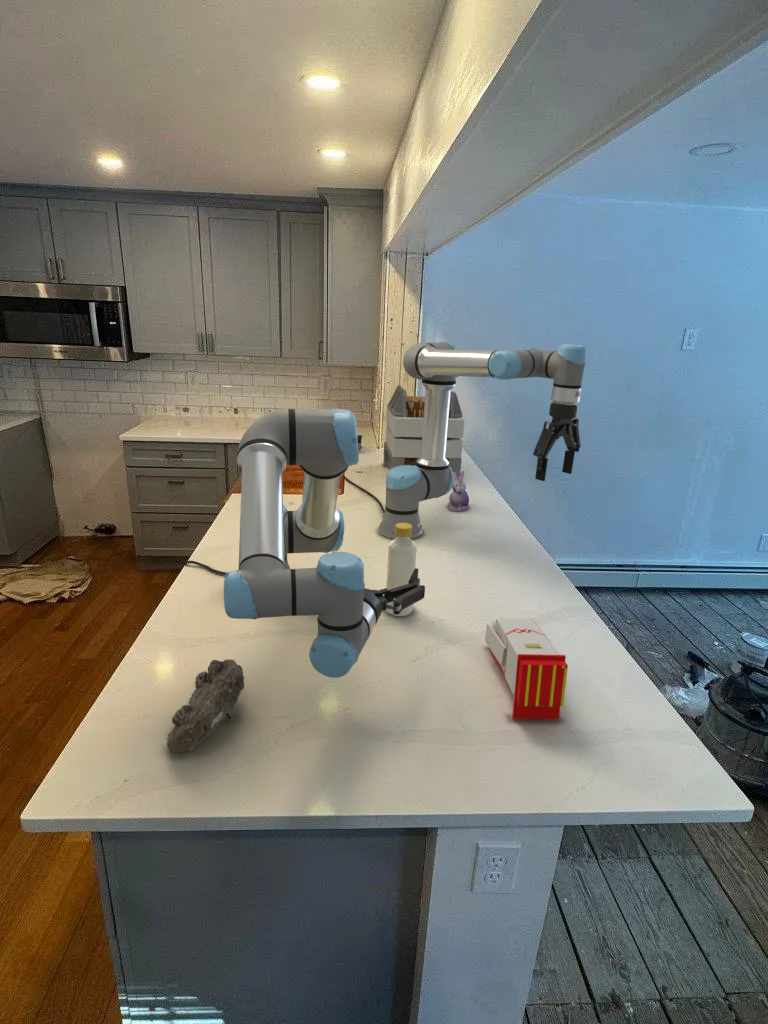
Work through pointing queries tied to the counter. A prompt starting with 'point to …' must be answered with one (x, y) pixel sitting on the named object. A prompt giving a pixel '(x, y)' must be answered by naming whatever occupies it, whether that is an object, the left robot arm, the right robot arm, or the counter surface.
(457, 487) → the figurine
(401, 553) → the bottle
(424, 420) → the right robot arm
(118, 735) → the counter surface
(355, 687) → the counter surface
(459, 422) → the grey slatted box
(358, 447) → the figurine character
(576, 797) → the counter surface
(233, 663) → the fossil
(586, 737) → the counter surface
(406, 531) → the cap
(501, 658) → the toy
